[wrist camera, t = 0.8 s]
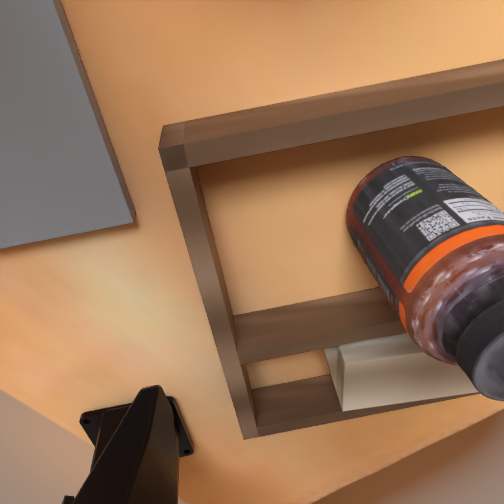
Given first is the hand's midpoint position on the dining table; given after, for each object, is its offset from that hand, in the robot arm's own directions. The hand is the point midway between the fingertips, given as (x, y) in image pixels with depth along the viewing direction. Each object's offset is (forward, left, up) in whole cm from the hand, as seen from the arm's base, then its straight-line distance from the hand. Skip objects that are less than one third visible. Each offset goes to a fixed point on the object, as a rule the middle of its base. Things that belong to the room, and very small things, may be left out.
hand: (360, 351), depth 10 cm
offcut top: (-14, -6, -11) cm, 19 cm away
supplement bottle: (-5, -6, -14) cm, 16 cm away
